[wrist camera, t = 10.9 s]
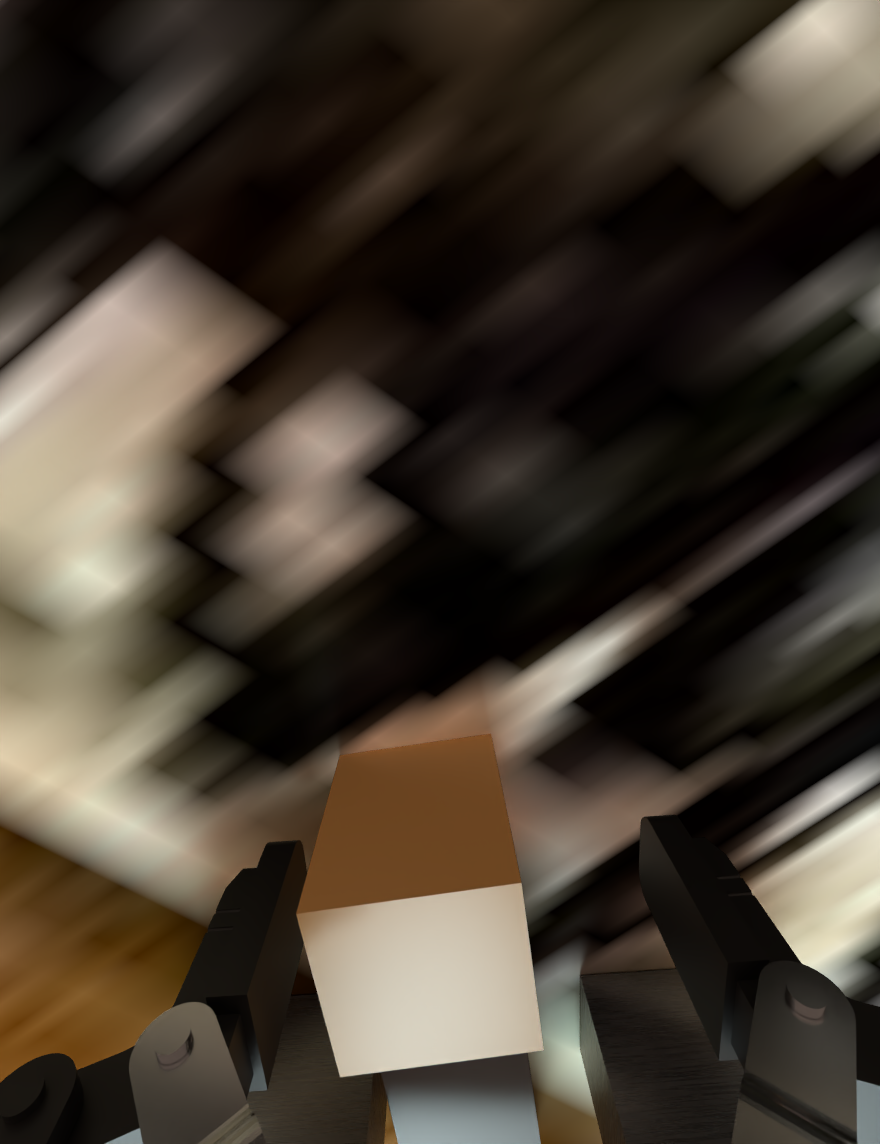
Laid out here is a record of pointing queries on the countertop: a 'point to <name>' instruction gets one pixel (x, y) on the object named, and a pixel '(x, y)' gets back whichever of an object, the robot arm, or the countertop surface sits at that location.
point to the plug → (426, 941)
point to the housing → (609, 1052)
